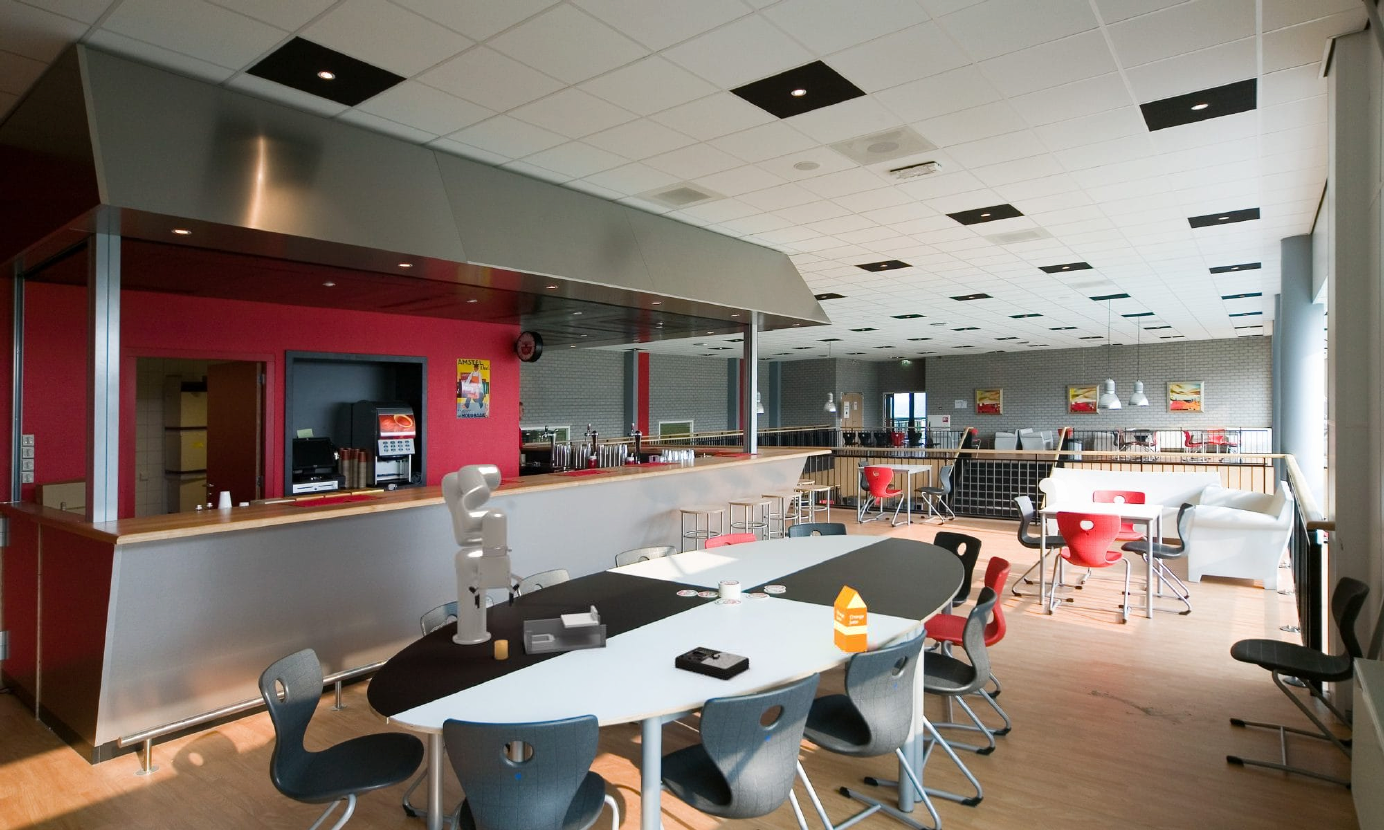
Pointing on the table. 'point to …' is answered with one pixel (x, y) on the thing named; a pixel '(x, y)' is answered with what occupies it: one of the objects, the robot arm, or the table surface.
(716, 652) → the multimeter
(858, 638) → the orange juice
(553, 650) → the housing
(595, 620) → the lid
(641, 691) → the table surface
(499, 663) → the table surface
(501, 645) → the peg
